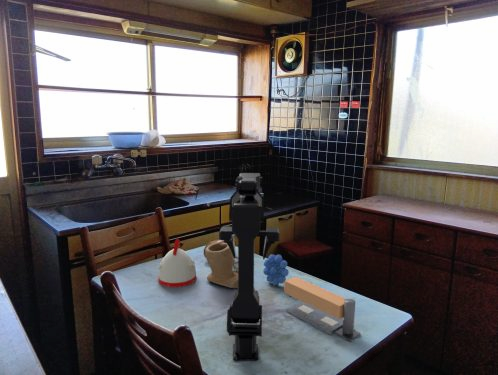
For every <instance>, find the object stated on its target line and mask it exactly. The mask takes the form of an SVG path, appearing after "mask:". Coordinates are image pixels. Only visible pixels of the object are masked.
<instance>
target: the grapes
mask: <svg viewBox="0 0 498 375" xmlns="http://www.w3.org/2000/svg"><path fill="white" fill-rule="evenodd" d="M267 258H268V259H264V262H263V266H264V268H263V270H262V271H263V274H264V275H265V276H266V281H267V282H268V283H271V284H273V286H279V284H285V281H286V280H287V279H286V277H288V276H289V274H290V271H289V269H288V268H287V266H288V262H287V261H286V260H284V259H283V257H282V255H281V254H276V255H275V254H270V255H269V256H268V257H267Z"/></svg>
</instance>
